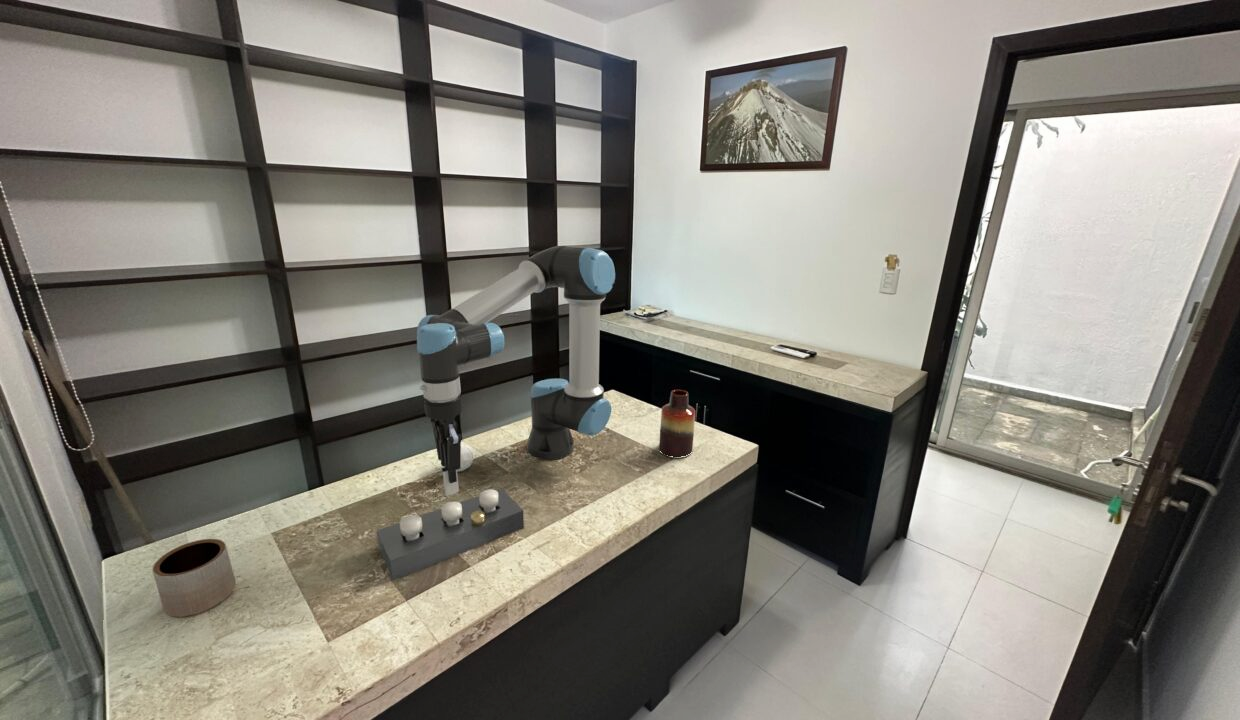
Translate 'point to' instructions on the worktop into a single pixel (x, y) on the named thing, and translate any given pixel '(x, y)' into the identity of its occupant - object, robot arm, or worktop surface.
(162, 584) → the planter
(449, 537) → the mount
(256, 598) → the worktop surface
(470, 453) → the perfume bottle
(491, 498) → the knob
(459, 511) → the knob mid
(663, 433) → the vase
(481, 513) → the brass dial
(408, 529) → the knob
